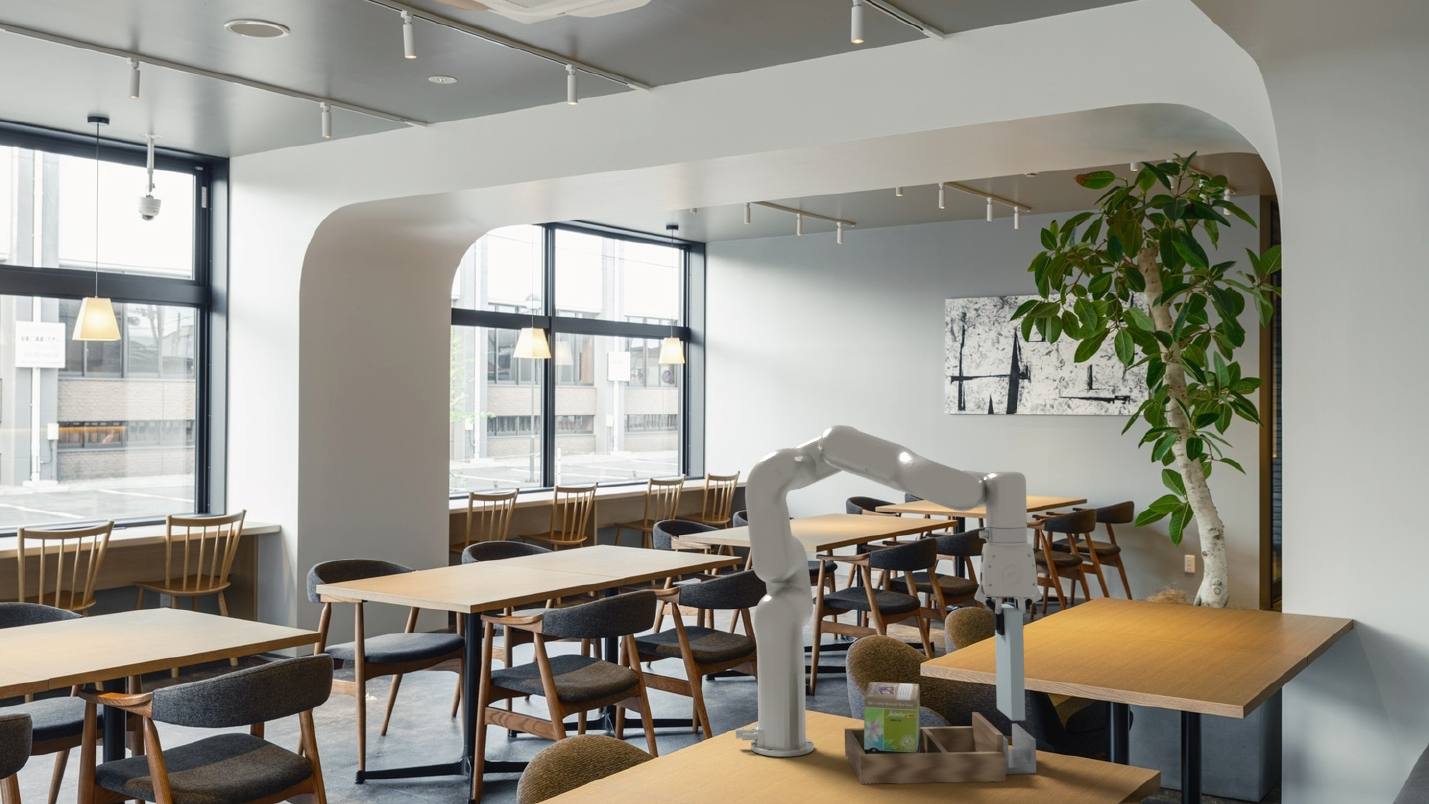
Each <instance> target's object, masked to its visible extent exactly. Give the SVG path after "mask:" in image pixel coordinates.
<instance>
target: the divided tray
mask: <svg viewBox="0 0 1429 804" xmlns="http://www.w3.org/2000/svg"><path fill="white" fill-rule="evenodd" d="M971 716H972V717H971V722H972V724H971V725H972V726H971V725H970V726H966V725H965V726H961V725H960V726H920V753H897V754H865V752H864V727H863V728H862V727H860V728H856V727H855V728H853V727H852V728H851V727H850V728H844V755H845V754H846V755H847V756H846V755H845V756H846V758H847V757H848V758H847V760H848V759H849V760H848V762H849V761H850V762H849V764H850V763H851V764H850V765H851V767H852V769H853V768H854V769H853V771H854V770H855V771H854V773H855V775H856V774H857V775H856V777H857V776H858V777H859V778H858V777H857V778H858V780H859V779H860V780H859V783H860V782H861V783H860V784H861V785H875V784H874V783H877V784H876V785H879V784H878V783H897V784H935V783H934V782H946V783H983V782H985V783H989V782H990V781H991V783H993V782H994V781H995V782H1007V774H1006V754H1005V752H1004V746H1003V736H1004V734H1003V733H1002V732H1001V731H1000V730H999V729H998V728H997V727H995V726H994V725H993V724H992V723H991V722H990V721H989V720H987V718H986V717H985V716H983V715H982V714H981V713H980V712H978V711H977V712H976V711H972V712H971ZM992 781H993V782H992ZM929 782H930V783H929ZM932 782H933V783H932ZM864 783H865V784H864ZM867 783H869V784H867ZM871 783H873V784H871Z"/></svg>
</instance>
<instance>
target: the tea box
mask: <svg viewBox="0 0 1429 804" xmlns="http://www.w3.org/2000/svg"><path fill="white" fill-rule="evenodd" d="M920 689H921V688H920V684H919V683H905V682H904V683H903V682H901V683H900V682H884V681H883V682H878V681H877V682H876V681H874V682H873V681H870V682H869V683H868V687H867V689H866V692H865V696H864V704H863V705H864V709H863V711H864V712H863V717H864V719H863V721H864V726H863V728H864V752H865V754H897V753H920V727H921V725H920V723H921V717H920V716H921V701H920V699H921V698H920V696H921V695H920V694H921V693H920Z"/></svg>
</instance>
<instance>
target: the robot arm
mask: <svg viewBox="0 0 1429 804" xmlns="http://www.w3.org/2000/svg"><path fill="white" fill-rule="evenodd" d="M842 471H844V472H846V473H849V474H852V475H855V476H859V477H860V478H864V479H866V480H870V481H872V482H875V483H877V484H880V485H882V486H885V487H888V488H890V489H892V490H895V491H899V492H903V493H905V494H909V495H911V496H913V497H916V498H918V499H921V500H924V501H927V502H930V503H933V504H935V505H939V506H942V507H944V508H947V509H949V510H953V511H957V512H961V513H962V512H963V513H964V512H969V511H972V510H974V509H977V508H985V517H986V518H985V520H986V521H985V526H986V527H985V528H984V530H979V531H978V537H979V539H985V541H986V543H983V544H982V550H981V556H980V557H981V558H980V567H979V585H978V587H977V590H976V592H975V594H974V600H975V601H978V602H980V603H982V604H984V605H985V606H986V607H988V608H989V609H990V610H991V611H992V612H993V629H994V630H997V633H998V634H999V635H1004V634H1005V630H1004V614H1002V604H1003V599H1005V598H1006V599H1009V598H1010V599H1011V598H1012V599H1014V607H1015V608H1017V609H1019V610H1021V611H1023V615H1024V614H1025V613H1026V611H1027V610H1028V609H1029V608H1030V606H1032V605H1033V604H1034V603H1036V602H1039V601H1041V600H1042V599H1043V596H1042V595H1043V594H1042V593H1041V591H1040V590H1039V588H1038V574H1037V573H1038V572H1037V566H1036V557H1035V553H1034V548H1033V547H1034V546H1033V544H1032V543H1028V517H1027V514H1028V509H1027V506H1028V505H1027V480H1026V476H1025V474H1023V473H1022V472H1018V471H993V472H981V471H972V470H960V469H958V468H955V467H954V468H953V467H951V466H948V465H945V464H944V463H943V464H942V463H939V462H937V461H934V460H931V459H928V458H926V457H924V456H921V455H919V454H917V453H916V452H914V451H913V450H912V449H910V448H909V447H907V446H906V447H905V446H904V445H901V444H899V443H896V442H892V441H890V440H886V439H883V438H880V437H877V436H874V435H871V434H868V433H865V432H863V431H861V430H858V429H857V428H855V427H853V426H850V425H842V424H836V425H832V426H830V427H828V428H826V429H825V430H824V431H823V433H822V434H821V436H818V437H816V438H813V439H812V440H810V441H806V442H805V443H802V444H800V445H798V446H796V447H793V448H789V447H787V448H780V449H776V450H774V451H772V452H770V453H768V454H767V455H765V456H764V457H762V458H761V459H760V460H759V461H757V463H756V464H755V465H754V466H753V468H752V469H751V470H750V472H749V474H748V476H747V480H746V483H745V491H744V492H745V493H744V499H745V507H746V508H745V510H746V516H747V517H746V518H747V526H748V538H749V544H750V552H751V553H750V554H751V563H752V568H753V571H754V573H755V575H756V576H757V578H759V579H760V580H761V581H763V582H764V583H765V586H766V587H765V589H766V594H765V595H764V596H763V597H761V599H760V600H759V602H758V604H757V605H756V607H755V611H754V618H753V619H754V623H753V624H754V634H755V641H756V659H757V664H756V665H757V667H756V668H757V669H756V671H757V705H758V706H757V709H758V710H757V722H756V723H755V726H752V727H750V728H747V729H746V728H735V730H734V731H735V739H736V740H737V739H738V740H740V739H741V740H742V741H751V742H750V749H751V751H752V752H754V753H756V754H759V755H763V756H768V757H778V758H779V757H785V758H787V757H798V756H802V755H803V756H804V755H807V754H810V753H811V752H813V751H814V749H815V743H814V742H813V741H812V739H809V738H807V733H806V731H807V728H806V727H807V726H806V725H807V721H806V718H807V717H806V713H807V712H806V711H807V710H806V660H805V658H806V656H805V655H806V654H805V643H804V634H803V633H804V631H803V630H804V629H803V628H804V627H805V626H806V625H807V624H808V622H809V621H810V620H811V618H812V615H813V611H814V600H813V591H812V584H811V577H810V571H809V570H810V569H809V561H808V555H807V552H806V548H805V547H804V545H803V543H802V542H801V540H800V539H799V538H797V537H796V536H795V535H792V527H791V517H790V512H789V507H788V504H787V497H788V496H787V495H788V494H789V492H791V491H794V490H801V489H803V488H806V487H809V486H811V485H813V484H816V483H817V482H820V481H822V480H825V479H827V478H829V477H831V476H834V475H837V474H839V473H840V472H842ZM985 595H986V596H987V597H986V596H985ZM988 597H989V598H988ZM1024 623H1025V622H1024V621H1023V630H1024V628H1025V626H1024Z"/></svg>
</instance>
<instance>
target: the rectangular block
mask: <svg viewBox="0 0 1429 804" xmlns="http://www.w3.org/2000/svg"><path fill="white" fill-rule="evenodd" d="M1002 614H1004V630H1005V634H1004V635H999V634H998V633H997V630H995V629H994V630H995V631H994V636H995V637H994V638H995V639H994V640H995V641H994V642H995V676H996V677H995V683H996V684H995V685H996V687H995V688H996V689H995V690H996V709H997V710H998V711H999V712H1001V713H1002V714H1004V715H1005V716H1006V717H1007V718H1008V719H1009V720H1010V721H1026V699H1025V698H1026V695H1025V691H1026V690H1025V657H1024V656H1025V653H1024V651H1025V650H1024V648H1025V646H1024V644H1025V643H1024V629H1023V622H1024V614H1023V611H1021V610H1019V609H1017V608H1015V606H1012V605H1010V604H1008V603H1002Z"/></svg>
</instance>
